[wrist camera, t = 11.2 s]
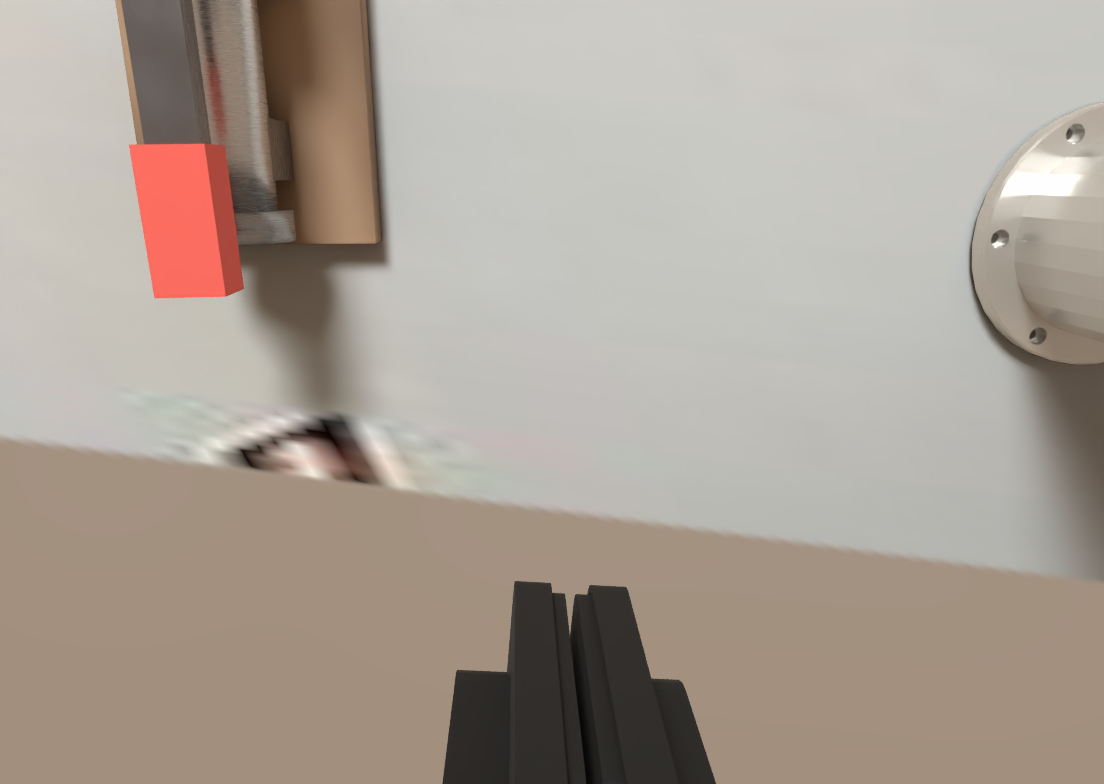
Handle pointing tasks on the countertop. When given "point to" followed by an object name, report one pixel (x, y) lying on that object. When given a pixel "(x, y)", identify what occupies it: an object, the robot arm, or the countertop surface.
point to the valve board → (289, 116)
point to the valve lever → (179, 158)
